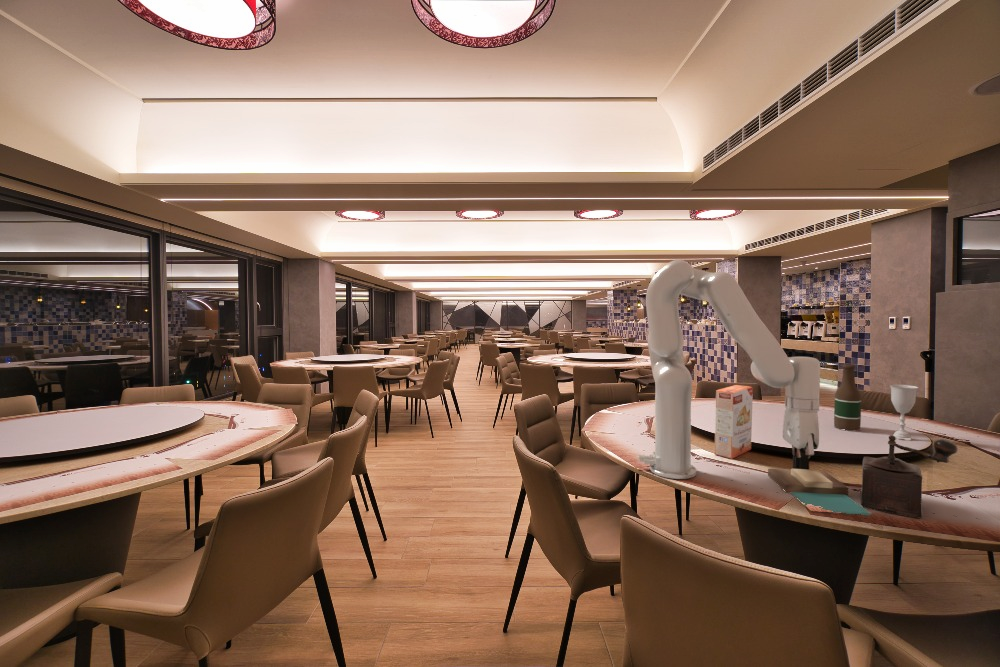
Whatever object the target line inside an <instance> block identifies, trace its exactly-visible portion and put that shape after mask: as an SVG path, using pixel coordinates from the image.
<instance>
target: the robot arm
mask: <svg viewBox="0 0 1000 667" xmlns="http://www.w3.org/2000/svg"><path fill="white" fill-rule="evenodd" d="M680 295H682V296H685V297H688V298H692V299H695V300H700V301H703V302H708V303H709V304H710V306H711V309H712V310H713V311H714V313H715V314H716V316H717V318H718V319H719V321H720V323H721V325H722V326H723V328H724V330H725V331H726V333H727V334H728V335H729V336H730V337H731V339H733V340H734V342H736V343H737V344H739V346H741V347H742V349H743V350H744V351H745V352H746V354H747V355H748V356H749V358H750V359H751V362H752V363H751V364H750V371H751V374H752V376H753V377H754V378H755V379H756V380H757V381H759V382H761V383H763V384H765V385H767V386H769V387H772V388H775V389H782V388H783V389H784V388H785V390H784V391H785V395H784V396H785V397H784V414H783V423H782V440H784V441H785V442H787V443H788V444H789V445H791V454H792V469H810V458H811V456H814V455H815V450H817V449H818V448H819V445H820V424H819V415H818V412H820V396H821V395H820V393H821V392H820V391H821V390H820V389H821V388H820V386H821V385H820V384H821V363H820V360H819V359H817V357H816V358H815V357H810V356H791V357H790V356H789V357H788V355H787V354H786V352H785V351H784V348H783V347H782V346H781V344H780V343H779V341H778V340H777V339H776V337H775V336H774V334H772V332H771V331H770V330H769V329H768V327H767V326H766V324H765V323H764V322H763V320H761V318H760V317H759V316H758V314H757V313H756V311H755V309H754V308H753V306H752V304H751V302H750V301H749V300H748V298H747V296H746V295H745V293H744V291H743V289H742V288H741V286H740V284H739V283H738V281H737V280H736V279H735V277H734V276H733V275H732V274H731V273H729V272H725V271H715V272H711V271H705V270H701V269H699V268H694V267H693V266H692V265H691V263H689V262H687V261H686V260H683V259H674V260H671V261H669V262H668V263H666V264H665V265H664V266H662V267H661V268H660V269H659V270H658V271H657V272H656V273H655V274H654V276H652V278H651V280H650V283H649V284H648V287H647V290H646V293H645V307H646V308H645V309H646V318H647V324H648V325H647V326H648V331H649V332H648V334H647V347H648V348H647V349H648V353H649V360H650V365H651V366H650V367H651V371H652V377H653V380H654V382H655V383H654V384H655V385H654V386H655V392H654V393H655V394H654V396H655V397H654V417H655V419H654V420H655V422H654V424H655V425H654V431H655V432H654V448H655V449H654V451H652V454H648V455H645V454H643V455H642V454H638V457H637V459H638V462H639V463H643V464H644V465H649V470H650V471H651V473H653V474H655V475H656V476H659V477H662V478H667V479H674V480H687V479H692V478H694V477H695V476H696V475H698V474H697V472H698V470H697V468H696V467H695V466H694V465H692V464H691V463H692V460H691V458H692V455H691V454H692V452H691V451H692V450H691V449H692V445H691V444H692V440H691V438H692V423H691V422H692V419H691V418H692V414H691V413H692V394H693V377H692V374H691V372H690V371H689V369H688V368H687V367H686V365H685V360H684V354H683V348H684V346H685V338H684V334H683V330H682V325H681V319H680V311H679V297H680Z"/></svg>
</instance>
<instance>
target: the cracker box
mask: <svg viewBox="0 0 1000 667" xmlns="http://www.w3.org/2000/svg"><path fill="white" fill-rule="evenodd" d="M753 393H754V388H753V386H749V385H741V384H740V385H739V384H734V385H731V386H727V387H723V388H719V389H717V390H715V419H714V420H715V422H714V425H715V426H714V427H715V428H714V455H715V456H719V457H723V458H726V459H730V460H733V459H735V458H737V457H739V456H741V455H743V454H744V453H746V452H749V451H750V450H752V430H753V429H752V428H753V427H752V426H753V398H754V397H753V395H754V394H753Z"/></svg>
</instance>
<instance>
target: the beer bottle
mask: <svg viewBox="0 0 1000 667" xmlns="http://www.w3.org/2000/svg"><path fill="white" fill-rule="evenodd" d="M841 368H843V369H842V378H841V384H840V385H839V387H838V388H837V389H836V390H835V391H836V392H835V394H834V406H833V407H834V409H833V410H834V411H833V412H834V416H833V426H834V428H836V429H838V428H839V429H838V430H841V429H845V430H844V431H846V430H858V431H860V430H861V423H862V422H861V421H862V420H861V419H862V418H861V417H862V395H861V392H860V390H859V389H858V388H857V386H856V377H855V368H856V365H855V364H853V363H852V364H851V363H844V364H842V366H841Z"/></svg>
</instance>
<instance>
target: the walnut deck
mask: <svg viewBox="0 0 1000 667" xmlns="http://www.w3.org/2000/svg"><path fill="white" fill-rule="evenodd" d="M818 471H819V472H820V473H821V474H822V475H824V476H825V477H826V478H828V479H829V480H830V481H832V482H833V486H832V488H817V487H805V486H804V485H802V484H801V483H800V482H799V481H798V480H797V479H796V478H795V477H793V476H792V475H791V469H788V468H787V469H785V468H767V476H768V477H769V479H771V480H772V481H773V482H774V483H775V484H776V485H777V484H778V485H779V486H778V485H777V486H778V487H779V488H780V489H782V490H783V489H784V490H785V491H786V492H785V491H784V490H783V491H784V492H785V493H789V492H804V493H823V494H842V495H846V496H848V497H849V489H850V488H849V487H848V486H847V485H846V484H844V483H843V482H841V481H840V480H839V479H837V478H835V477H834V476H833V475H831V474H830V473H828V472H827V471H825V470H818Z"/></svg>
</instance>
